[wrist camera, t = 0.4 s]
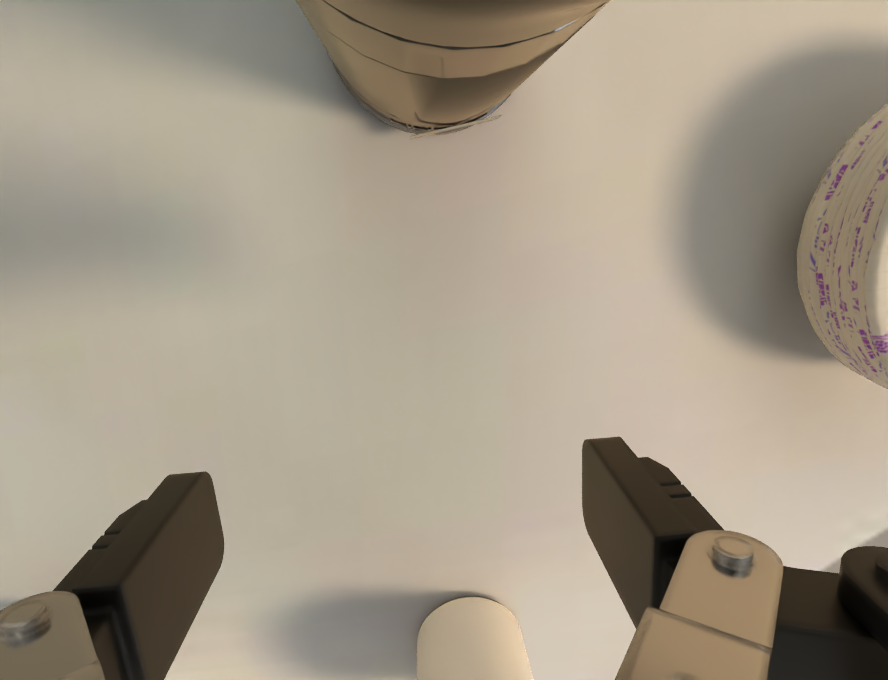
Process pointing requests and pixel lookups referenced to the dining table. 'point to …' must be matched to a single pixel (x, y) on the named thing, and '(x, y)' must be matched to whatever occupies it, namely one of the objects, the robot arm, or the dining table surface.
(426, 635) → the can
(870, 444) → the dining table surface
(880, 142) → the white bowl
